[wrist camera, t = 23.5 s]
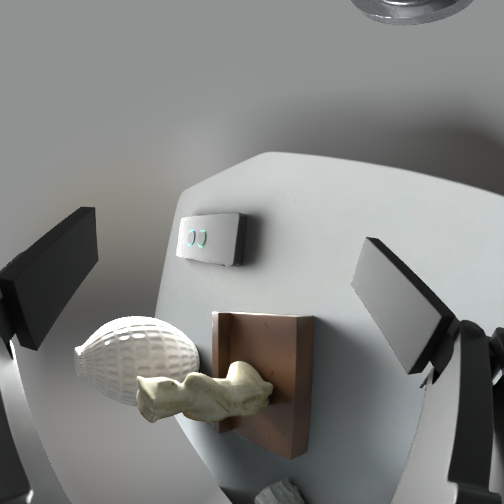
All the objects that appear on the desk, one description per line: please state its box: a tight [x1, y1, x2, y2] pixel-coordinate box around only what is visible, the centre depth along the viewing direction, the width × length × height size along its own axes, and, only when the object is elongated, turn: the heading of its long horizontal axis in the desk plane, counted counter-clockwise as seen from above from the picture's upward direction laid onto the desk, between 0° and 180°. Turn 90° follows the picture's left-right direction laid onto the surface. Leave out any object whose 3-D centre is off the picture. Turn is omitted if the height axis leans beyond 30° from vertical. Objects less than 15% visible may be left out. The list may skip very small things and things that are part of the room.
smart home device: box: [176, 212, 247, 266], centre depth 51 cm, size 8×2×20 cm
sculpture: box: [136, 361, 273, 423], centre depth 29 cm, size 6×7×15 cm
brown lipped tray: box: [212, 312, 314, 460], centre depth 35 cm, size 18×14×5 cm
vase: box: [74, 317, 200, 406], centre depth 46 cm, size 16×16×22 cm
